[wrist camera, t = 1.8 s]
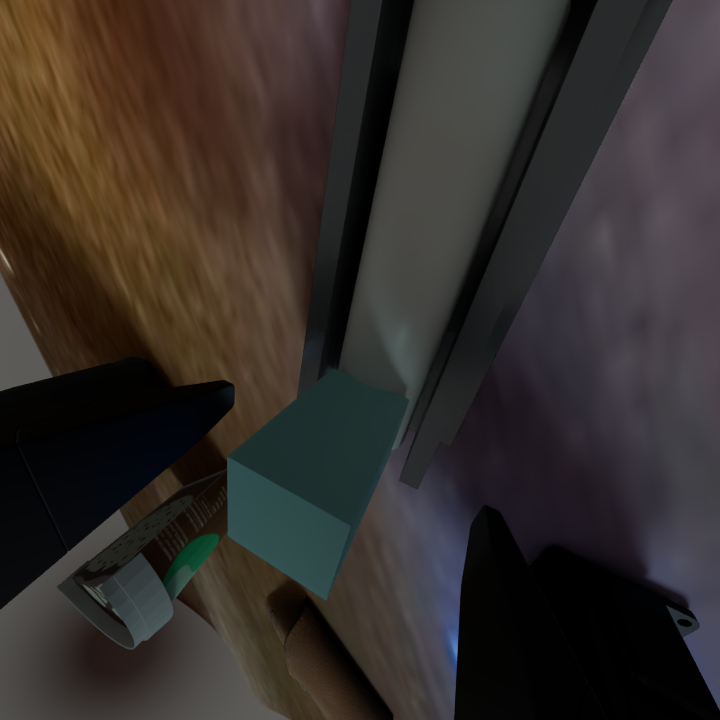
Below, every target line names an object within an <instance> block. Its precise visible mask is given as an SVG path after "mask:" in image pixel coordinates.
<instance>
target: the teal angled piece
mask: <svg viewBox="0 0 720 720" xmlns="http://www.w3.org/2000/svg"><path fill="white" fill-rule="evenodd" d="M570 7H571V0H414V5H413V9H412V14H411V19H410V24H409V29H408V34H407V38H406V43H405V48H404V53H403V58H402V62H401V67H400V72H399V77H398V82H397V87H396V91H395V96H394V101H393V106H392V111H391V115H390V120H389V125H388V130H387V135H386V140H385V144H384V149H383V154H382V159H381V164H380V168H379V173H378V178H377V183H376V188H375V193H374V197H373V202H372V207H371V212H370V217H369V222H368V226H367V231H366V236H365V241H364V246H363V250H362V255H361V260H360V265H359V270H358V275H357V279H356V284H355V289H354V294H353V299H352V303H351V308H350V313H349V318H348V323H347V328H346V332H345V337H344V342H343V347H342V352H341V356H340V361H339V366H338V370H336V369H334V368H333V369H332V370H331V371H329V372H328V373H327V374H326V375H325V376H323V377H322V378H321V379H320V380H319V381H317V382H316V383H315V384H314V385H313V386H311V387H310V388H309V389H308V390H307V391H305V392H304V393H303V394H302V395H301V396H299V397H298V398H297V399H296V400H295V401H293V402H292V403H291V404H290V405H289V406H287V407H286V408H285V409H284V410H283V411H281V412H280V413H279V414H278V415H277V416H275V417H274V418H273V419H272V420H270V421H269V422H268V423H267V424H266V425H264V426H263V427H262V428H261V429H260V430H258V431H257V432H256V433H255V434H254V435H252V436H251V437H250V438H249V439H248V440H246V441H245V442H244V443H243V444H242V445H240V446H239V447H238V448H237V449H236V450H234V451H233V452H232V453H231V454H230V455H228V456H227V495H228V537H230V538H231V539H233V540H234V541H236V542H237V543H239V544H240V545H242V546H243V547H245V548H246V549H248V550H249V551H251V552H253V553H254V554H256V555H257V556H259V557H260V558H262V559H263V560H265V561H266V562H268V563H269V564H271V565H272V566H274V567H275V568H277V569H279V570H280V571H282V572H283V573H285V574H286V575H288V576H289V577H291V578H292V579H294V580H295V581H297V582H298V583H300V584H301V585H303V586H304V587H306V588H308V589H309V590H311V591H312V592H314V593H315V594H317V595H318V596H320V597H321V598H323V599H324V600H327V598H328V595H329V593H330V591H331V588H332V586H333V584H334V582H335V579H336V577H337V575H338V572H339V570H340V568H341V566H342V563H343V561H344V559H345V556H346V554H347V552H348V550H349V547H350V545H351V543H352V540H353V538H354V536H355V534H356V531H357V529H358V527H359V524H360V522H361V520H362V518H363V515H364V513H365V511H366V508H367V506H368V504H369V502H370V499H371V497H372V495H373V492H374V490H375V488H376V486H377V483H378V481H379V479H380V476H381V474H382V472H383V470H384V467H385V465H386V463H387V460H388V458H389V455H390V452H391V451H393V450H395V449H396V448H398V447H399V446H400V445H401V444H402V443H403V441H404V439H405V436H406V434H407V431H408V429H409V426H410V424H411V421H412V418H413V416H414V413H415V411H416V408H417V406H418V403H419V400H420V398H421V395H422V393H423V390H424V388H425V385H426V382H427V380H428V377H429V375H430V372H431V370H432V367H433V364H434V362H435V359H436V357H437V354H438V352H439V349H440V346H441V344H442V341H443V339H444V336H445V334H446V331H447V328H448V326H449V323H450V321H451V318H452V315H453V313H454V310H455V308H456V305H457V303H458V300H459V297H460V295H461V292H462V290H463V287H464V285H465V282H466V279H467V277H468V274H469V272H470V269H471V267H472V264H473V261H474V259H475V256H476V254H477V251H478V249H479V246H480V243H481V241H482V238H483V236H484V233H485V231H486V228H487V225H488V223H489V220H490V218H491V215H492V213H493V210H494V207H495V205H496V202H497V200H498V197H499V195H500V192H501V189H502V187H503V184H504V182H505V179H506V176H507V174H508V171H509V169H510V166H511V164H512V161H513V158H514V156H515V153H516V151H517V148H518V146H519V143H520V140H521V138H522V135H523V133H524V130H525V128H526V125H527V122H528V120H529V117H530V115H531V112H532V110H533V107H534V104H535V102H536V99H537V97H538V94H539V92H540V89H541V86H542V84H543V81H544V79H545V76H546V74H547V71H548V68H549V66H550V63H551V61H552V58H553V55H554V53H555V50H556V48H557V45H558V43H559V40H560V37H561V35H562V32H563V30H564V27H565V25H566V22H567V19H568V17H569V13H570Z"/></svg>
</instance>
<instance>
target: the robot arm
mask: <svg viewBox="0 0 720 720" xmlns="http://www.w3.org/2000/svg"><path fill="white" fill-rule="evenodd" d="M234 400H235V387H234V385H233V384H232V383H230V382H228V381H225V380H220V381H213V382H206V383H199V384H192V385H186V386H179V387H172V388H165V389H158V390H152V391H145V392H138V393H131V394H124V395H118V396H111V397H104V398H100V399H98V398H97V399H90V400H83V401H76V402H69V403H61V404H53V405H44V406H35V407H25V408H15V409H6V410H0V609H2V608H3V607H4V606H5V605H6V604H8V602H10V601H11V600H12V599H13V598H15V597H16V596H17V595H18V594H19V593H21V592H22V591H23V590H24V589H25V588H26V587H28V585H30V584H31V583H32V582H33V581H35V580H36V579H37V578H38V577H39V576H41V575H42V574H43V573H44V572H45V571H46V570H48V569H49V568H50V567H51V566H52V565H54V564H55V563H56V562H57V561H58V560H59V559H61V558H62V557H63V556H64V555H65V554H67V551H70V550H71V549H72V548H73V547H75V546H76V545H77V544H78V543H79V542H80V541H82V540H83V539H84V538H85V537H86V536H88V535H89V534H90V533H91V532H92V531H93V530H95V529H96V528H97V527H98V526H99V525H101V524H102V523H103V522H104V521H105V520H106V519H108V518H109V517H110V516H111V515H112V514H114V513H115V512H116V511H117V510H118V509H119V508H121V507H122V506H123V505H124V504H125V503H126V502H128V501H129V500H130V499H131V498H132V497H134V496H135V495H136V494H137V493H138V492H139V491H141V490H142V489H143V488H144V487H145V486H147V485H148V484H149V483H150V482H151V481H152V480H154V479H155V478H156V477H157V476H158V475H160V474H161V473H162V472H163V471H164V470H165V469H167V468H168V467H169V466H170V465H171V464H173V463H174V462H175V461H176V460H177V459H178V458H180V457H181V456H182V455H183V454H184V453H186V452H187V451H188V450H189V449H190V448H191V447H193V446H194V445H195V444H196V443H197V442H198V441H200V440H201V439H202V438H203V437H204V436H205V435H206V434H207V433H208V432H209V431H210V430H211V429H212V428H213V427H214V426H215V425H216V424H217V423H218V422H219V421H220V420H221V419H222V418H223V417H224V416H225V415H226V414H227V413H228V411H229V410H230V409H231V408H232V407H233V405H234ZM699 627H700V626H699V623H698V621H697V619H696V617H695V616H694V614H693V613H692V611H690V610H689V609H687V608H685V607H683V606H681V605H679V604H677V603H675V602H672V601H670V600H668V599H666V598H664V597H662V596H660V595H658V594H656V593H654V592H652V591H650V590H648V589H646V588H643V587H641V586H639V585H637V584H635V583H633V582H631V581H629V580H627V579H625V578H623V577H621V576H619V575H616V574H614V573H612V572H610V571H608V570H606V569H604V568H602V567H600V566H598V565H596V564H594V563H592V562H590V561H587V560H585V559H583V558H581V557H579V556H577V555H575V554H573V553H571V552H569V551H567V550H565V549H563V548H560V547H557V546H551V547H548V548H546V550H545V551H544V552H543V553H542V554H541V555H540V556H539V557H538V558H537V559H536V560H535V561H534V562H533V563H532V565H531V566H530V567H529V566H528V564H527V562H526V560H525V558H524V557H523V555H522V553H521V551H520V549H519V547H518V545H517V543H516V541H515V539H514V537H513V535H512V533H511V531H510V530H509V528H508V526H507V524H506V522H505V520H504V518H503V516H502V514H501V513H500V512H499V511H498V510H496V509H494V508H492V507H490V506H488V505H484V506H483V507H482V508H481V510H480V511H479V513H478V514H477V516H476V517H475V519H474V520H473V522H472V525H471V528H470V534H469V540H468V546H467V552H466V558H465V564H464V570H463V577H462V584H461V596H460V615H459V635H458V655H457V674H456V694H455V714H454V720H720V710H719V708H718V706H717V704H716V702H715V700H714V698H713V696H712V694H711V692H710V690H709V689H708V687H707V685H706V683H705V681H704V679H703V677H702V675H701V673H700V671H699V669H698V667H697V665H696V663H695V661H694V659H693V657H692V655H691V653H690V651H689V649H688V647H687V645H686V643H685V641H684V640H683V637H684V636H686V635H688V634H690V633H692V632H693V631H695V630H697V629H698V628H699Z"/></svg>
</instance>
